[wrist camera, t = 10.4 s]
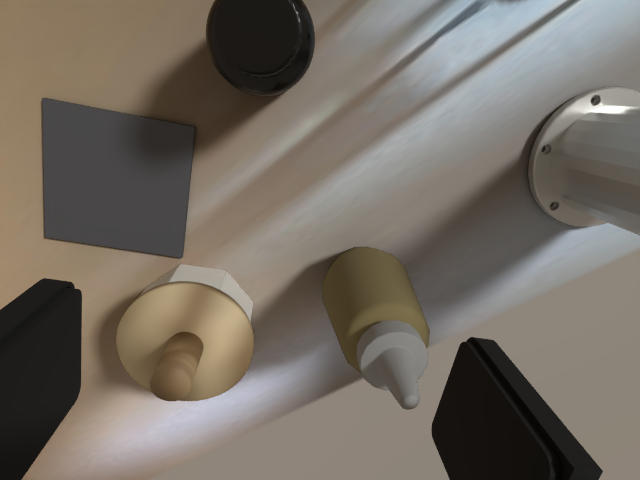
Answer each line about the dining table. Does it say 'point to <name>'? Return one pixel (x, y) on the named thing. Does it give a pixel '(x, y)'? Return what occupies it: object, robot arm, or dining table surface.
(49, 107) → the mat
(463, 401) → the robot arm
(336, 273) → the squeeze bottle
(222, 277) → the bowl
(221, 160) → the dining table surface
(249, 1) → the supplement bottle
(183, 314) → the lid
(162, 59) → the dining table surface
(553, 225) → the dining table surface
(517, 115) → the dining table surface
